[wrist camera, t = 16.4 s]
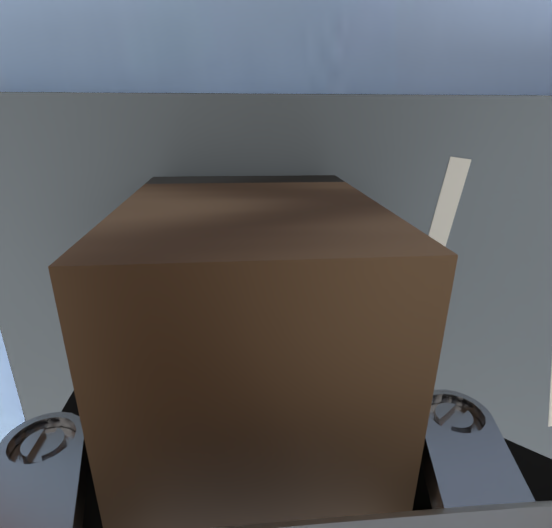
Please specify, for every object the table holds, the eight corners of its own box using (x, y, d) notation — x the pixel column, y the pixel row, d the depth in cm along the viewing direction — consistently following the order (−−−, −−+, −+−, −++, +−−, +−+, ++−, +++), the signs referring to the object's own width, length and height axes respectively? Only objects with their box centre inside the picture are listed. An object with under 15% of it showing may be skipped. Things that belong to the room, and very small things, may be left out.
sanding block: (334, 175, 10) (458, 255, 5) (318, 448, 13) (379, 688, 8) (153, 177, 10) (47, 266, 4) (181, 458, 13) (143, 720, 7)
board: (734, 98, 12) (799, 97, 11) (609, 431, 17) (643, 460, 16) (-25, 94, 10) (-66, 91, 9) (66, 471, 15) (49, 508, 14)
